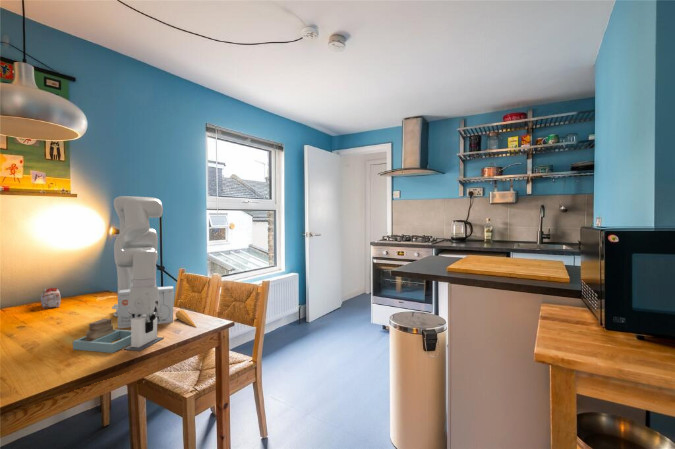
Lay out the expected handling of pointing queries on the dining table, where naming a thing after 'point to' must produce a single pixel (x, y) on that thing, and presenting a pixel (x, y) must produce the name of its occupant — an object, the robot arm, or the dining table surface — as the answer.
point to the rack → (105, 342)
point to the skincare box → (165, 308)
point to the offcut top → (100, 324)
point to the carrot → (184, 317)
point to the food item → (50, 298)
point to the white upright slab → (142, 331)
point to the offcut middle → (98, 333)
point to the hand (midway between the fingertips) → (144, 330)
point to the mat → (144, 345)
